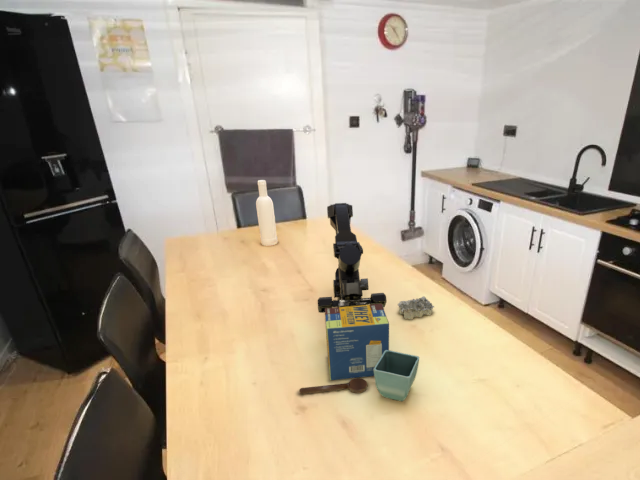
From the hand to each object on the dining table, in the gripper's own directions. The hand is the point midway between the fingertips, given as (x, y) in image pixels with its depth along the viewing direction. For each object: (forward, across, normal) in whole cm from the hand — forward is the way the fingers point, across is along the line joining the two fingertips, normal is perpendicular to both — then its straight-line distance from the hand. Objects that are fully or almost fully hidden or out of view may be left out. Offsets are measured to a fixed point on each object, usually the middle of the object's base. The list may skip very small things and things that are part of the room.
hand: (354, 332), depth 110 cm
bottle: (-67, -31, +75) cm, 106 cm away
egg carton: (-10, +22, +20) cm, 31 cm away
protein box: (+9, 0, +2) cm, 9 cm away
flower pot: (+18, +8, -7) cm, 21 cm away
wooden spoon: (+15, -6, -5) cm, 17 cm away
